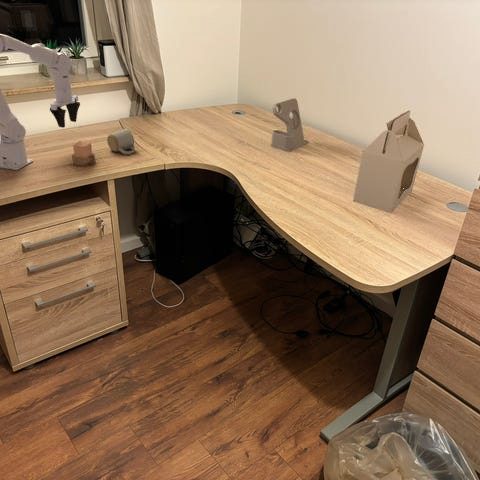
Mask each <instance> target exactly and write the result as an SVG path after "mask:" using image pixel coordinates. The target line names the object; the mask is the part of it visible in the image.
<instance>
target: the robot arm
mask: <svg viewBox="0 0 480 480" xmlns="http://www.w3.org/2000/svg"><path fill="white" fill-rule="evenodd" d="M8 49H10V50H12V51H13V50H14V51H16V52H19V53H23V54H26V55H28V56H29V58H30V60H31V61H32V62H36V63H39V64H41V65H44V66H47V67H49V68H50V69H51V73H52V81H53V86H54V95H55V100H54V101H53V102H52V103H50V104H49V106H50V108H49V112H50V113H51V114H52V115H53V117H54V119H55V121H56V123H57V125H58V128H66V119H65V118H66V111H67V112H68V118H69V121H70V122H71V123H72V122H74V123H76V122H77V118H78V117H77V116H78V112H79V109H80V107H81V102H79V96H78V95H77V94H76V95H74V94H72V87H71V77H70V69H71V67H72V61H71V60H70V58H69V57H68V55H67V54H65V53H61V52H58V50H57V49H55V48H52V49H51V48H48V47H46V45H45V44H43V43H40V42H39V43H34V44H32V45H30V44H28V43H26V42H23V41H21V40H19V39H17V38H14V37H12V36H9V35H6V34H2V33H0V53H1V52H2V51H7V50H8ZM64 106H65V107H66V109H64V108H62V107H64ZM26 133H27V132H26V128H25V127H24V125H23V124H21V122H20V121H19V119H18V118H17V116H16V115H14V113H13V112H12V111H11V109H10V107H9V104H8V102H7V100H6V98H5V96H4V94H3V91H2V90H1V88H0V168H3V169H9V170H14V171H17V170H19V169H21V168H23V167H25V166H27V165H29V164H31V163H33V162H34V159H32V158H28V155H27V151H26V145H25V139H24V138H25V136H26Z"/></svg>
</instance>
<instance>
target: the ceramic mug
mask: <svg viewBox="0 0 480 480" xmlns="http://www.w3.org/2000/svg"><path fill="white" fill-rule="evenodd" d="M106 141H107V145H108V147H109V148H110V150H111V151H113V152H114V153H116V152H117V153H118V152H120V153H122V154H123V155H126V154H130V155H133V154H134V153H135V138H134V136H133V134H132V132H131V130H129V129H128V128H123V129H120V130H118V131H115V132H112V133H110V134H109V135H107V140H106ZM129 149H132V150H131V151H127V150H129ZM132 153H133V154H132Z"/></svg>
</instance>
